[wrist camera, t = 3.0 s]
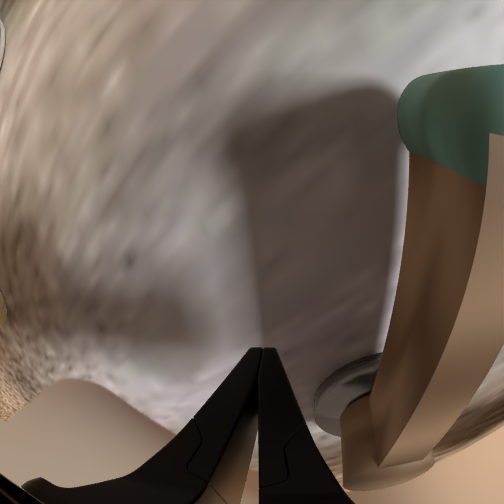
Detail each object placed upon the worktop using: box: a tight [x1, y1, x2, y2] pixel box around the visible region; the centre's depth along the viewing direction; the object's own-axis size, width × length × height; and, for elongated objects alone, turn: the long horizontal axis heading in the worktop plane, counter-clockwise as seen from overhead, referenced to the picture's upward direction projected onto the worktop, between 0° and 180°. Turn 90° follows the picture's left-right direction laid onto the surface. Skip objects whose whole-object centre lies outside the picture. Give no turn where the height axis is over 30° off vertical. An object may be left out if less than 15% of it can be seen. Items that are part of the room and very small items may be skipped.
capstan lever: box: [340, 64, 504, 491], centre depth 9 cm, size 20×5×4 cm, turn 6°
